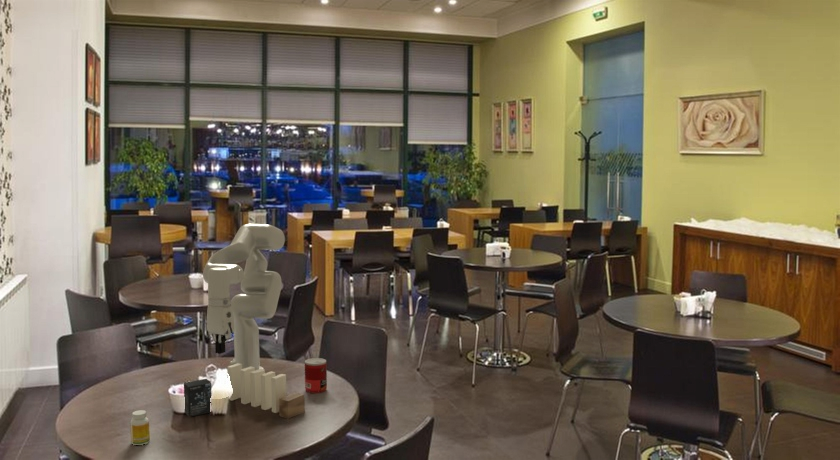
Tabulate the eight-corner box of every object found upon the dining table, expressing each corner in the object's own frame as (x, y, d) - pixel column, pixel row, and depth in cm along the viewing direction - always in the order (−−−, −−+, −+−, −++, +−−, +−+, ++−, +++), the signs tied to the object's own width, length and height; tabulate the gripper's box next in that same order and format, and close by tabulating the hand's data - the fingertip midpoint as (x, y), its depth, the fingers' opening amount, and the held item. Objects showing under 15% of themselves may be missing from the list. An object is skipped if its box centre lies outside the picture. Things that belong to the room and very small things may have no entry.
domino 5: (271, 411, 259) (271, 377, 257) (282, 407, 263) (281, 373, 262) (276, 413, 258) (275, 378, 256) (286, 408, 262) (285, 374, 260)
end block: (279, 416, 255) (279, 398, 254) (296, 409, 261) (295, 392, 261) (288, 418, 253) (287, 401, 252) (304, 411, 259) (304, 394, 258)
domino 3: (251, 406, 264) (250, 372, 263) (261, 401, 269) (260, 368, 267) (255, 407, 263) (254, 373, 262) (265, 403, 267) (265, 369, 266)
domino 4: (261, 408, 262) (260, 374, 260) (271, 404, 266) (271, 371, 264) (265, 410, 261) (264, 375, 259) (276, 405, 265) (275, 372, 263)
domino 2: (241, 403, 267) (240, 369, 266) (251, 399, 271) (250, 366, 270) (245, 404, 266) (244, 370, 265) (255, 400, 270) (254, 367, 269)
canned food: (325, 393, 278) (324, 363, 276) (303, 393, 278) (302, 363, 276) (328, 386, 285) (327, 357, 284) (307, 386, 285) (306, 357, 284)
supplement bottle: (127, 442, 233) (126, 412, 231) (144, 437, 236) (143, 407, 235) (136, 447, 229) (134, 416, 228) (153, 442, 233) (151, 412, 232)
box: (189, 417, 254) (188, 386, 252) (184, 412, 258) (183, 382, 257) (212, 412, 258) (211, 382, 257) (207, 407, 263) (206, 378, 261)
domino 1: (228, 399, 271) (227, 366, 269) (239, 395, 275) (238, 363, 274) (232, 400, 270) (231, 367, 268) (242, 396, 274) (241, 364, 272)
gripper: (241, 303, 271) (242, 353, 273) (213, 298, 279) (214, 347, 281) (225, 306, 265) (226, 358, 267) (196, 301, 273) (198, 351, 275)
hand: (220, 352), depth 274 cm, fingers closed
